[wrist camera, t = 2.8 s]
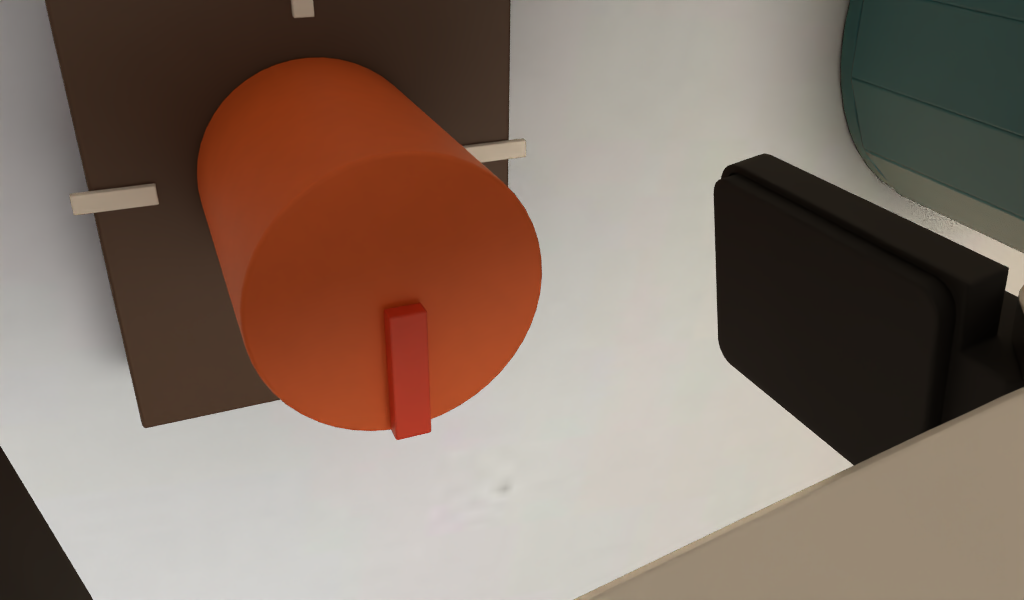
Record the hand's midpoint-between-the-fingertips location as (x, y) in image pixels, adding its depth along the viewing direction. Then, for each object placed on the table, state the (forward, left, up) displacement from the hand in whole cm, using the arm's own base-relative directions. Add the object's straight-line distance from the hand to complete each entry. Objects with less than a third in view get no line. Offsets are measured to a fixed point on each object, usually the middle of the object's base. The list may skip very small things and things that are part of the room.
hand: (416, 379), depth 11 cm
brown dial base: (0, 0, -10) cm, 10 cm away
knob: (0, 0, -7) cm, 7 cm away
